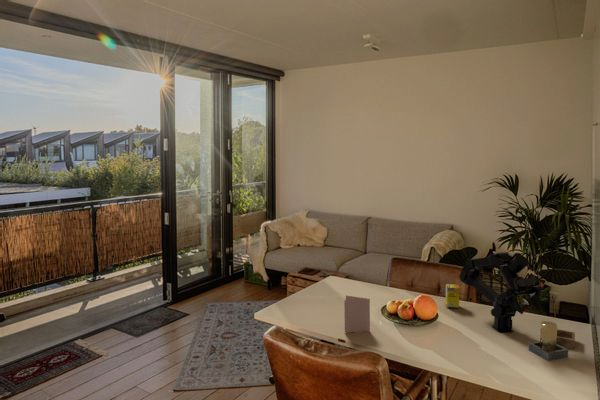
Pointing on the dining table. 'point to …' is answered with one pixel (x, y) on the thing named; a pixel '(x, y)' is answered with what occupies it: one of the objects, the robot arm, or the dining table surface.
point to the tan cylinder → (548, 336)
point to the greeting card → (357, 314)
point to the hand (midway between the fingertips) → (531, 312)
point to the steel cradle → (546, 355)
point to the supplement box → (452, 296)
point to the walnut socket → (566, 338)
